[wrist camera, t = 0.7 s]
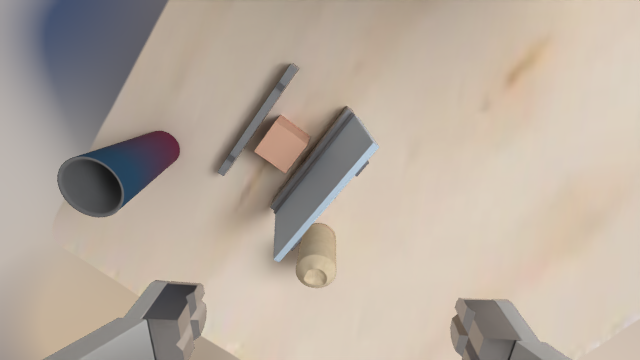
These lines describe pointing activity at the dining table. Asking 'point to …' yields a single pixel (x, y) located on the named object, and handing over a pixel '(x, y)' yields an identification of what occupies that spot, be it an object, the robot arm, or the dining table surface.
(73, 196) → the cup
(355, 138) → the cover
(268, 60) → the dining table surface
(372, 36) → the dining table surface
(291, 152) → the block
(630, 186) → the dining table surface
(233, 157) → the grey rail
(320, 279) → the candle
